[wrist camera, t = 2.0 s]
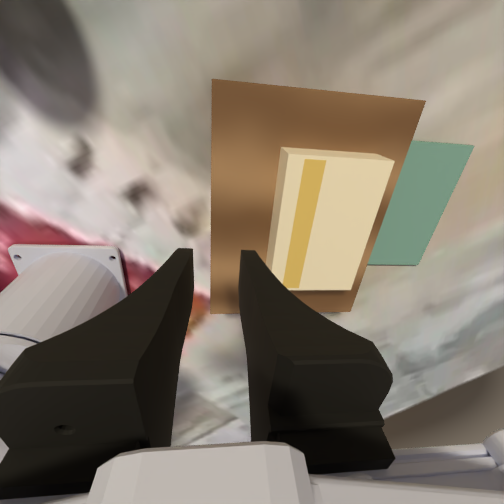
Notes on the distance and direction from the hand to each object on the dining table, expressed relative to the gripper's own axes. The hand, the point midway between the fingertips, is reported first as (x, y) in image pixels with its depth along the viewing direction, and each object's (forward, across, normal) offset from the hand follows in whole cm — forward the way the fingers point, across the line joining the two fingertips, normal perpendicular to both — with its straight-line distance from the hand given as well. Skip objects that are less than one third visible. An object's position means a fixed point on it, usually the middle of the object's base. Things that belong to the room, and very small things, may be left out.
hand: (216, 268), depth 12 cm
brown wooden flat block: (+10, -5, +1) cm, 12 cm away
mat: (+11, -15, +1) cm, 19 cm away
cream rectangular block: (+6, -6, 0) cm, 9 cm away
